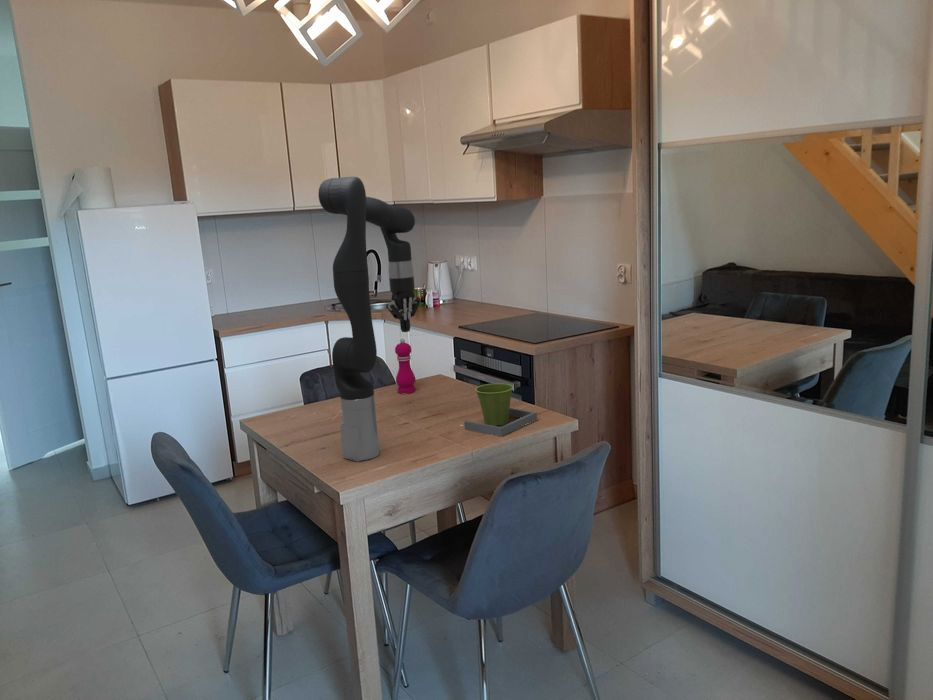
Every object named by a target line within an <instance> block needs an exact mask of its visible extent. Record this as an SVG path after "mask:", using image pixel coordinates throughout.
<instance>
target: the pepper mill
mask: <svg viewBox="0 0 933 700" xmlns="http://www.w3.org/2000/svg"><path fill="white" fill-rule="evenodd" d="M399 342H400V343H398V344H396V346H395V347H394V353H395V354H396V358H397V359H396V360H397V361H398V370H397V371H398V372H397V373H396V377H395V383H396V385H397V386H398V387H397V393H398V392H399V393H398V394H400V393H409V394H413V393H415V392H416V386H415V383H416V381H417V380H416V376H415V373H414V371H413V370H412V367H411V363H410V362H411V360H412V358H411V356H412V355H410V354H411V353H412V347H411V344H409V343H408V342H406V341H405V339H404V338H401V339H400V340H399ZM414 391H415V392H414ZM412 392H413V393H412Z"/></svg>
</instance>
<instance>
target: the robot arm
mask: <svg viewBox="0 0 933 700" xmlns="http://www.w3.org/2000/svg"><path fill="white" fill-rule="evenodd" d="M318 200H319V204H320V206H321V208H322V209H323V210H324V211H326V213H329V214H333V215H345V216H346V231H345V235H344V238H343V240H342V242H341V244H340V247H339V248H338V251H337V252H336V255H335V257H334V260H333V264H332V275H333V288H334V292H335V294H336V297H337V298H338V301H339V302H340V305H341V306H342V308H343V309H344V311H345V313H346V315H347V317H348V319H349V323H350V328H351V334H352V337H349V336H348V337H345V336H343V337H340V338H338V339H337V340H335V341H336V342H335V343H334V345H333V348H332V352H331V354H332V355H331V356H332V357H331V358H332V359H331V360H332V367H333V373H334V381H335V386H336V388H337V390H338V392H339V397H340V406H341V407H340V408H341V409H340V410H342V413H341V419H342V424H340V426H339V429H340V437H341V438H340V439H341V446H342V447H341V448H342V457H343V459H346V460H350V461H354V462H358V463H359V462H362V461H367V460H371V459H374V458H376V457H378V456H379V455H380V443H379V434H378V433H379V432H378V431H379V430H378V421H377V411H376V410H377V409H376V400H375V399H376V398H375V390H374V389H375V388H374V385H373V382H370V381H369V380H368V379H366V378H365V377H364V376H363V373H364V374H365V373H370V372H371V371H372V370H373V369H374V368H375V365H376V363H377V356H378V354H377V344H376V343H377V342H376V337H375V331H374V326H373V325H374V324H373V317H372V309H371V297H370V277H369V265H368V257H367V254H368V253H367V233H366V231H367V224H366V223H369V224H371V225H372V224H373V225H374V226H377V227H379V229H380V231H381V233H382V236H383V238H384V242H385V245H386V248H387V258H388V260H387V261H388V280H389V290H390V292H391V294H392V295H391V298H390V299H391V301H390V302H389V303H387V304H386V309H387V310H388V312H389V313H390V314H391V315H392V317H393V318H394V319H395V320H399V323H400V325H399V326H400V330H401V332H402V333H408V332H410V331H411V319H412V318H413V317H414V316H415V315H416V313H417V310H418V308H419V306H420V303H421V300H420V299H419V298H417V297H415V293H414V291H415V289H416V288H415V277H414V276H415V275H414V267H413V266H414V265H413V260H412V258H413V257H412V247H411V243H410V242H409V241H407V240H402V239H399V238H398V236H397V234H403V233H405V234H406V233H409V232H411V231H412V230H413V228H414V227H415V224H416V220H415V215H414V214H413V213H412V210H410V209H408V208H406V207H403V206H398V205H392V204H390V203H387V202H385V201H383V200H381V199H378V198H376V197H371V196H367V193H366V189H365V185H364V182H363V181H362V180H361V178H360V177H358V176H346V177H345V176H344V177H333V178H328V179H325V180H324V181H322V182H321V183H320V185H319V188H318ZM361 373H362V374H361Z"/></svg>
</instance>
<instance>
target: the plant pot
mask: <svg viewBox="0 0 933 700" xmlns="http://www.w3.org/2000/svg"><path fill="white" fill-rule="evenodd" d="M514 388H515V386H514V385H513V384H509V383H501V382H500V383H499V382H498V383H487V384H481V385H478V386H477V387H475V388H474V391H475V392H476V394H477V397H478V398H477V399H478V400H479V404H480V409H481V412H482V415H483V417H482V418H483V421H484V424H487V425H493V426H501V425H502V426H504V425H506V424H508V423H509V417H510V416H509V409H510V408H511V398H512V393H513V390H514Z"/></svg>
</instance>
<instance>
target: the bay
mask: <svg viewBox="0 0 933 700" xmlns="http://www.w3.org/2000/svg"><path fill="white" fill-rule="evenodd" d="M510 416H514V417H513V418H516V417H521V418H516V420H514V421H511V422H508V423H507V424H505V425H502V426H499V425H496V426H493V425H487V424H485V423H481V422H477V421H472V420H471V421H470V420H464V422H463V423H464V430H466V431H467V430H468V431H471V430H472V432H477V433H481V432H482V434H487V435H491V434H493V435H492V436H495V435H498V436H497V437H500V436H502V437H504V436H506V435H508V434H507V433H509V432H511V433H513V432H515V431H517V430H519V429H521V428H523V427H522V426H523V425H525V424H527V423H530V422H532V421H534V420H536V419H537V420H538V412H537V411H532V410H524V409H518V408H513V407H510V409H509V417H510ZM534 422H535V421H534ZM532 423H533V422H532ZM530 424H531V423H530ZM520 427H521V428H520ZM518 428H519V429H518ZM516 429H517V430H516ZM514 430H515V431H514ZM512 431H513V432H512ZM505 434H506V435H505ZM509 434H510V433H509ZM503 435H504V436H503Z"/></svg>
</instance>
